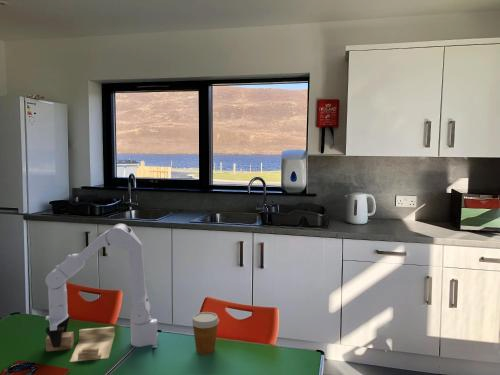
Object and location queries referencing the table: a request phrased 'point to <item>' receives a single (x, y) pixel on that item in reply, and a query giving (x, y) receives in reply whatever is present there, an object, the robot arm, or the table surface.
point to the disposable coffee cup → (205, 331)
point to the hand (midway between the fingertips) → (59, 341)
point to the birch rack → (95, 341)
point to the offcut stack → (89, 353)
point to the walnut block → (66, 342)
